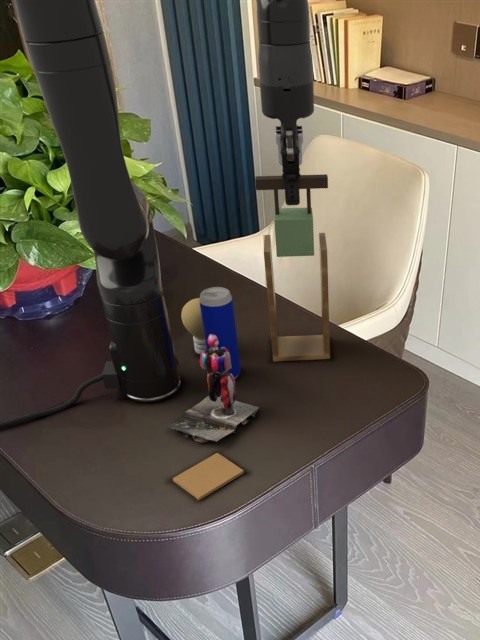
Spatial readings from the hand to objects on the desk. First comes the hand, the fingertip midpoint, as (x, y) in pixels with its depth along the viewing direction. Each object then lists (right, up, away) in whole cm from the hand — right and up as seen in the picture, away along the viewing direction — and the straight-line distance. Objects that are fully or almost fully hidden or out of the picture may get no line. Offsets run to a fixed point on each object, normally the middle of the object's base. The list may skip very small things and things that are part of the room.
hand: (292, 201), depth 112 cm
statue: (-12, -35, 0) cm, 37 cm away
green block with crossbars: (0, -6, +5) cm, 8 cm away
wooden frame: (0, -20, +17) cm, 27 cm away
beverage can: (-12, -26, +11) cm, 31 cm away
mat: (-11, -43, -10) cm, 45 cm away
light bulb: (-17, -21, +17) cm, 32 cm away
